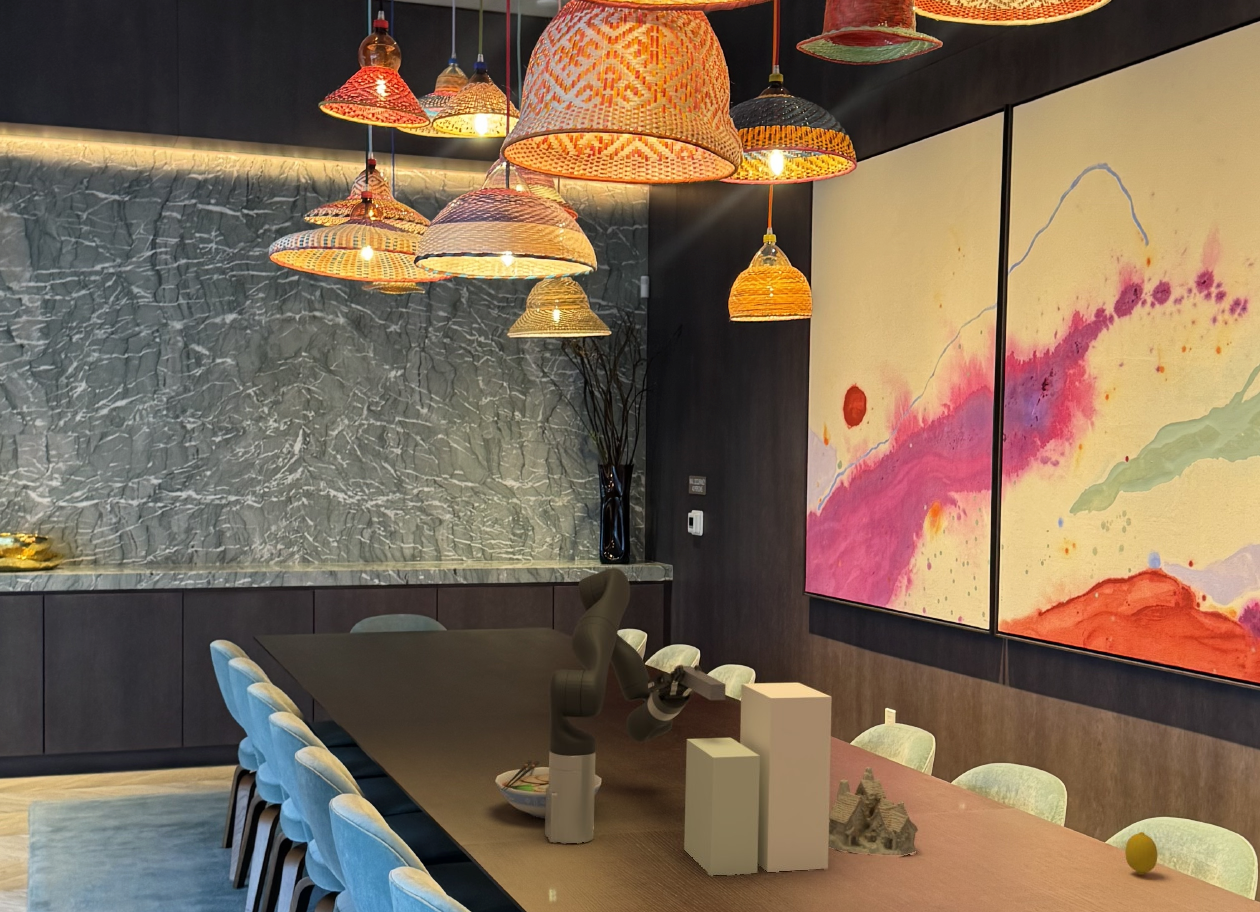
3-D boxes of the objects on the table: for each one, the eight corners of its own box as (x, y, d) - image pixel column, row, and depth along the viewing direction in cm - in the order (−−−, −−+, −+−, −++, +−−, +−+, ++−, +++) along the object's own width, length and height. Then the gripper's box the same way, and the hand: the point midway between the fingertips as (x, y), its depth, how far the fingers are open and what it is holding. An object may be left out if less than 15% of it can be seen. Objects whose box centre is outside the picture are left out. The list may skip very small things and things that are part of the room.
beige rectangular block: (710, 876, 225) (713, 757, 225) (684, 850, 240) (686, 739, 241) (757, 873, 227) (759, 755, 227) (728, 848, 243) (730, 737, 243)
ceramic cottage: (812, 838, 250) (818, 765, 249) (881, 835, 256) (887, 763, 256) (853, 867, 235) (861, 789, 235) (926, 862, 242) (933, 786, 241)
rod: (710, 700, 237) (710, 684, 237) (673, 679, 260) (673, 664, 260) (725, 699, 238) (725, 684, 238) (687, 678, 261) (687, 664, 261)
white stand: (767, 873, 228) (771, 698, 228) (737, 847, 243) (741, 683, 244) (827, 869, 231) (831, 696, 231) (794, 844, 246) (798, 682, 247)
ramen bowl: (586, 834, 249) (587, 793, 249) (477, 825, 254) (478, 785, 254) (612, 803, 274) (613, 766, 274) (513, 795, 278) (514, 759, 279)
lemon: (1148, 870, 235) (1149, 828, 235) (1162, 880, 229) (1163, 836, 229) (1120, 870, 234) (1120, 827, 235) (1132, 879, 229) (1133, 836, 229)
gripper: (635, 682, 269) (655, 652, 254) (696, 681, 272) (720, 651, 258) (639, 716, 265) (659, 687, 251) (701, 714, 269) (725, 686, 254)
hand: (690, 669), depth 254 cm, fingers closed on rod, 3 cm apart
